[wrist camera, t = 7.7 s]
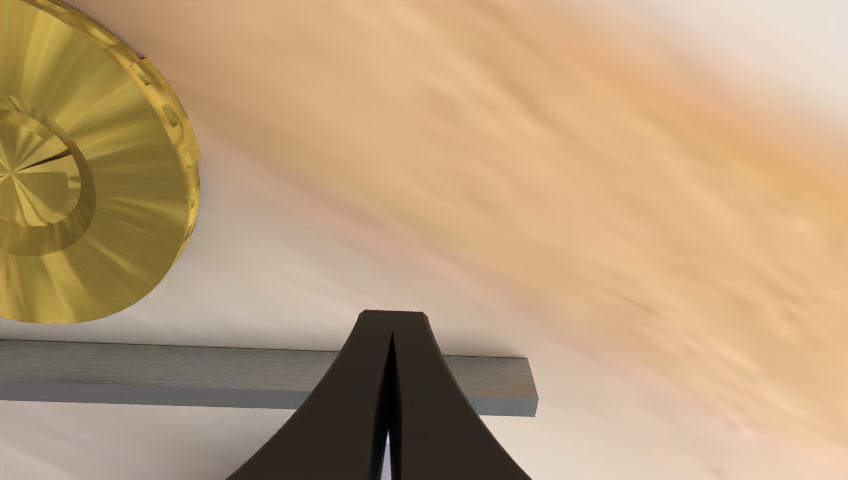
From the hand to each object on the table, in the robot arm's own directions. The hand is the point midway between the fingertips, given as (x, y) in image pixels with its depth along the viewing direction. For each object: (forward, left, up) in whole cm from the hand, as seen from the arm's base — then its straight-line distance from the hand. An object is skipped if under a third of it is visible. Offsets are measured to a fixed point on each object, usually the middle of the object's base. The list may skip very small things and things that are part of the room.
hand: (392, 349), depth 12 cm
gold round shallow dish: (0, +13, -11) cm, 17 cm away
